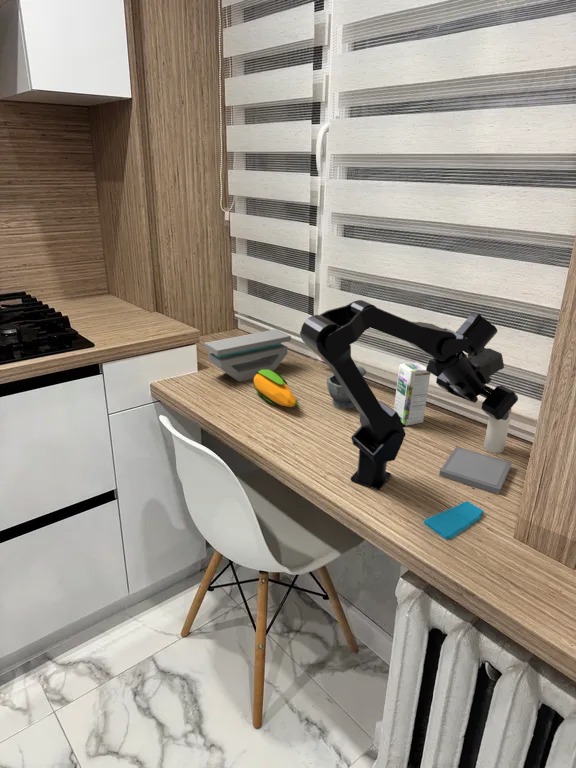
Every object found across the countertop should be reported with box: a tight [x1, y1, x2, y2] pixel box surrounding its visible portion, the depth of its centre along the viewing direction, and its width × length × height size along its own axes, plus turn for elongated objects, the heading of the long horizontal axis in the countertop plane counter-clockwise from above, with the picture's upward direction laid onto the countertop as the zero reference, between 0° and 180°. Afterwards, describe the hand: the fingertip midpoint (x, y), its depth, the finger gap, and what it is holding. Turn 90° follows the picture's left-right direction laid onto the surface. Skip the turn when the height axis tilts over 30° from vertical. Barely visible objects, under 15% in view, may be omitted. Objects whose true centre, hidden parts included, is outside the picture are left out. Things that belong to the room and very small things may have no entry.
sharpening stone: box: [203, 329, 292, 382], centre depth 158 cm, size 25×8×11 cm, turn 125°
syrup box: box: [393, 362, 431, 427], centre depth 131 cm, size 6×6×14 cm
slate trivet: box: [439, 446, 512, 495], centre depth 112 cm, size 12×12×1 cm
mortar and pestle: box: [326, 366, 367, 410], centre depth 139 cm, size 11×9×12 cm
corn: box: [253, 370, 299, 408], centre depth 141 cm, size 7×8×20 cm
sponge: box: [423, 501, 484, 540], centre depth 97 cm, size 2×12×6 cm
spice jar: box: [483, 408, 513, 454], centre depth 120 cm, size 4×4×10 cm
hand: (490, 409), depth 116 cm, fingers open, 9 cm apart
